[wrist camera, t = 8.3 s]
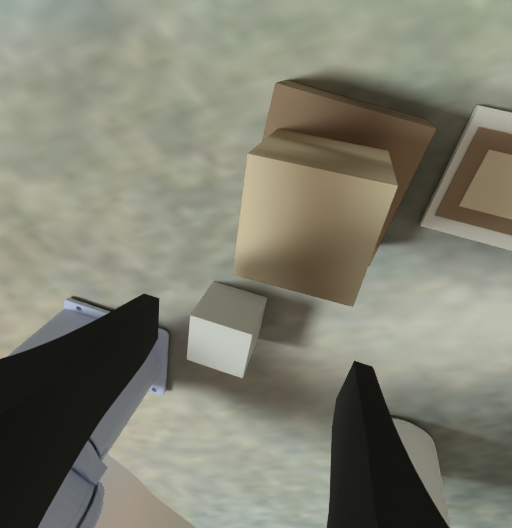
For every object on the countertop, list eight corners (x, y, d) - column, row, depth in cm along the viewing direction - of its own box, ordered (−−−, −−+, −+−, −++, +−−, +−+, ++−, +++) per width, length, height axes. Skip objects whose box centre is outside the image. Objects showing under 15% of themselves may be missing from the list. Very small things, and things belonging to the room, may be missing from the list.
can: (454, 448, 27) (508, 684, 17) (389, 474, 30) (401, 681, 20) (390, 400, 26) (406, 616, 16) (332, 433, 29) (314, 626, 19)
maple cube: (261, 225, 19) (232, 274, 15) (277, 128, 16) (247, 153, 12) (355, 248, 18) (352, 306, 14) (388, 150, 15) (397, 185, 11)
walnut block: (257, 204, 21) (243, 224, 19) (288, 79, 18) (275, 83, 15) (368, 241, 21) (369, 266, 18) (425, 118, 17) (436, 129, 14)
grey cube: (208, 322, 27) (186, 359, 24) (213, 280, 25) (190, 315, 21) (258, 338, 26) (242, 378, 23) (267, 297, 24) (252, 334, 21)
